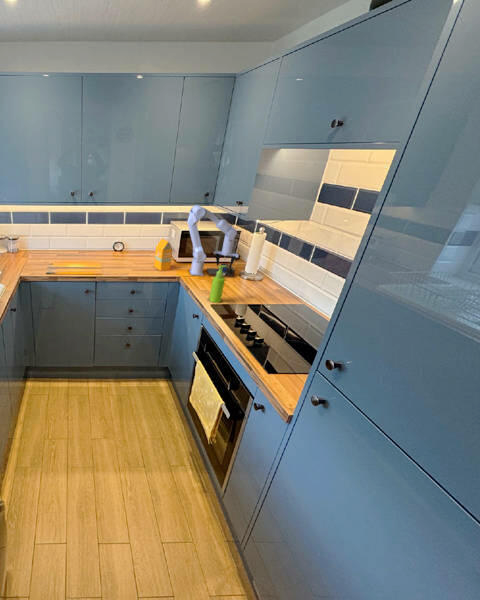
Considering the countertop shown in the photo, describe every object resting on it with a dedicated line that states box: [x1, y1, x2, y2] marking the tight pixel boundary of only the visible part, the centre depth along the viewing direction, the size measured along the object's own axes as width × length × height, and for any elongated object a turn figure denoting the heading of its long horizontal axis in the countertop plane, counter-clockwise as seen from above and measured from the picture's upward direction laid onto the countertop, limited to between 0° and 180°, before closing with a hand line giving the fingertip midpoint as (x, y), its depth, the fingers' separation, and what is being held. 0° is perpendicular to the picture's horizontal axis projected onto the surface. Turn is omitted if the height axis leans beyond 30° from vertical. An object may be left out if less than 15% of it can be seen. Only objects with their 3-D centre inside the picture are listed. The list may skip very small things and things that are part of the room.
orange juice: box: [153, 238, 174, 272], centre depth 221 cm, size 8×9×20 cm
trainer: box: [218, 263, 230, 275], centre depth 212 cm, size 11×5×4 cm, turn 147°
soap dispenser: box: [208, 264, 229, 304], centre depth 174 cm, size 6×7×20 cm
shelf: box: [205, 264, 236, 278], centre depth 214 cm, size 11×15×4 cm
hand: (223, 266), depth 213 cm, fingers open, 7 cm apart
